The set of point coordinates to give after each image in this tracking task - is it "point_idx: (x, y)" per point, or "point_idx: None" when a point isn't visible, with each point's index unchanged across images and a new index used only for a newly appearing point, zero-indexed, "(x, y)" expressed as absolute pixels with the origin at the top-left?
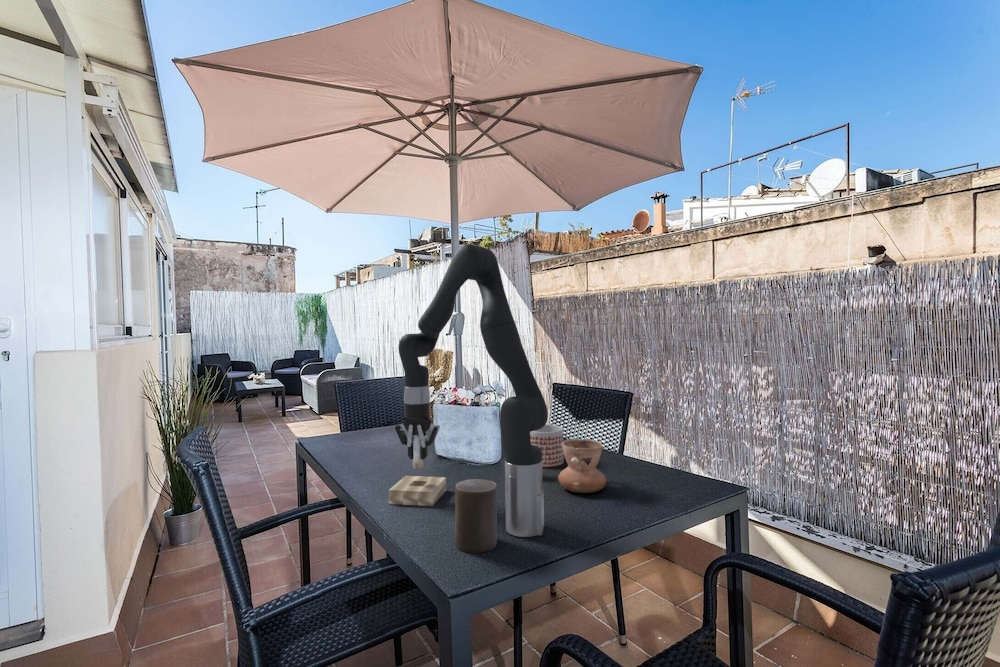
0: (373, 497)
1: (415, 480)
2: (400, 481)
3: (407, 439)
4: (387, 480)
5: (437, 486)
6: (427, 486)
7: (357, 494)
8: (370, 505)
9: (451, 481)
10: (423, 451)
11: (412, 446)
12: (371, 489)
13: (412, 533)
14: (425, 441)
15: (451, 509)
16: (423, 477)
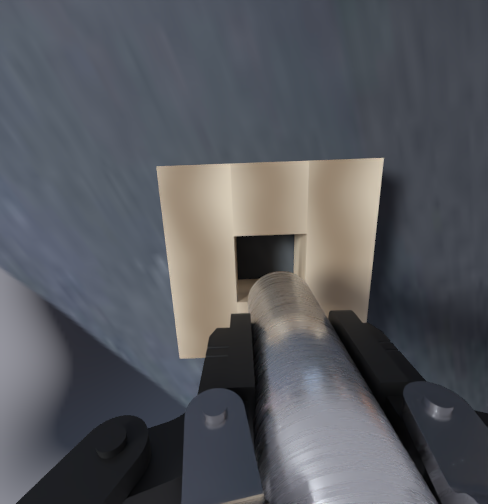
0: (103, 283)
1: (241, 232)
2: (175, 257)
3: (132, 478)
4: (26, 68)
5: (369, 292)
6: (325, 299)
7: (25, 266)
8: (138, 347)
9: (355, 20)
10: None
11: (249, 428)
12: (38, 205)
13: None
14: (457, 453)
15: (409, 334)
16: (264, 181)
